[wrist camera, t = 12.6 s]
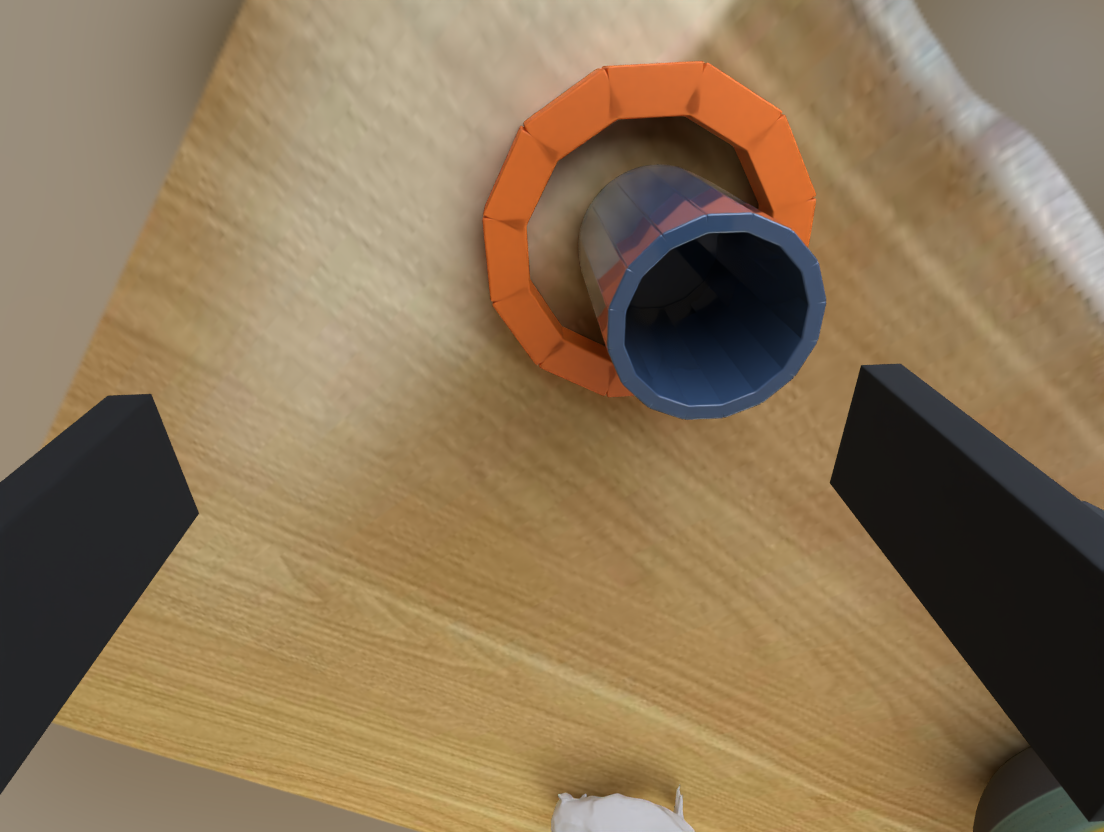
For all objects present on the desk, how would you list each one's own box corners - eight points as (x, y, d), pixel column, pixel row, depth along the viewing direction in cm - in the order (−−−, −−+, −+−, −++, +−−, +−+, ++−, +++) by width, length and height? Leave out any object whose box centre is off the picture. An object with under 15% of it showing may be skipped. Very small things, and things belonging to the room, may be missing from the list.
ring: (470, 73, 21) (467, 73, 20) (820, 54, 21) (841, 53, 20) (501, 387, 27) (501, 404, 26) (772, 370, 27) (785, 386, 26)
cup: (578, 166, 23) (611, 216, 15) (735, 161, 23) (847, 209, 15) (577, 316, 26) (604, 424, 18) (716, 311, 26) (801, 416, 18)
